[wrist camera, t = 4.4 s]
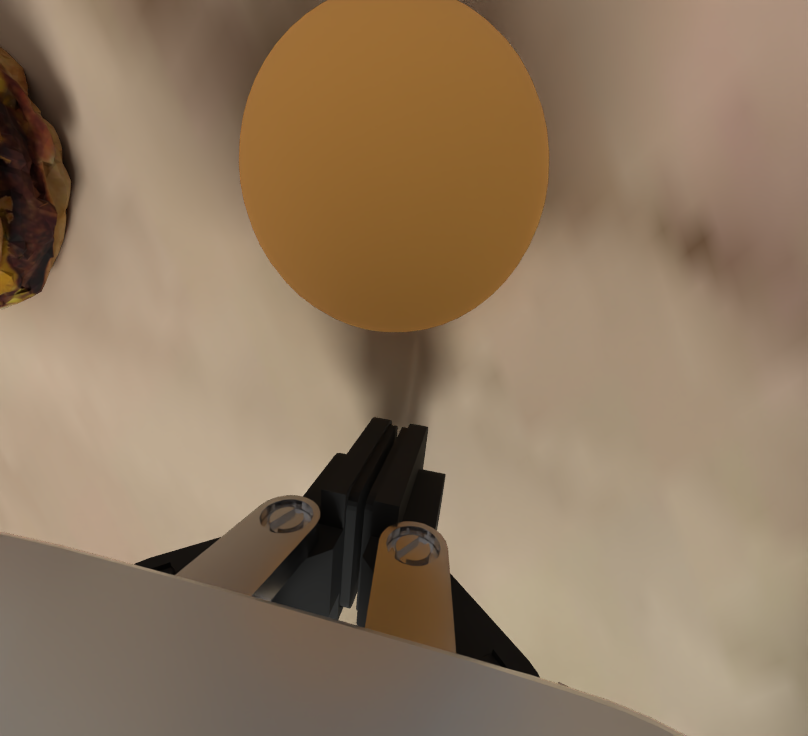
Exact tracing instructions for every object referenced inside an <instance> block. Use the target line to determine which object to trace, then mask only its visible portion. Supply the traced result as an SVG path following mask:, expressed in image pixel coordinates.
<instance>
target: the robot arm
mask: <svg viewBox="0 0 808 736" xmlns="http://www.w3.org/2000/svg"><path fill="white" fill-rule="evenodd" d="M397 430H398V427H397V426H394V425H392V421H391V420H387V419H381V418H376V417H373V418H372V420H371V421H370V423H369V424H368V425H367V427H366V428H365V430H364V431H363V432H362V434H361V435H360V436H359V438H358V439H357V441H356V442H355V443H354V445H353V446H352V448H351V449H350V450H349V452H348V453H347V454H342V453H337V454H336V455H335V456H334V457H333V458H332V460H331V461H330V462H329V464H328V465H327V466H326V467H325V469H324V470H323V471H322V473H321V474H320V475H319V476H318V478H317V479H316V480H315V482H314V483H313V484H312V485H311V487H310V488H309V489H308V491H307V492H306V493H305V494H304V496H303V497H302V496H297V495H286V496H280V497H276V498H273V499H270V500H268V501H266V502H265V503H263V504H261V505H260V506H259V507H257V508H256V509H255V510H254V511H253V512H251V513H250V514H249V515H248V516H247V517H245V518H244V519H243V520H242V521H240V522H239V523H238V524H237V525H236V526H234V527H233V528H232V529H231V530H229V531H228V532H227V533H226V534H225V535H223V536H222V537H220V538H216V539H213V540H209V541H206V542H202V543H199V544H196V545H192V546H189V547H185V548H182V549H179V550H175V551H172V552H168V553H165V554H162V555H158V556H155V557H151V558H148V559H146V560H143V561H141V562H138V563H136V564H130V563H126V562H123V561H119V560H115V559H111V558H108V557H104V556H100V555H96V554H93V553H89V552H85V551H81V550H77V549H74V548H70V547H66V546H62V545H58V544H54V543H49V542H45V541H40V540H36V539H31V538H27V537H22V536H18V535H14V534H9V533H4V532H0V736H686V735H684V734H682V733H680V732H678V731H676V730H674V729H673V728H671V727H669V726H667V725H665V724H663V723H661V722H659V721H657V720H655V719H653V718H651V717H649V716H646V715H644V714H641V713H639V712H636V711H634V710H631V709H629V708H627V707H624V706H622V705H619V704H617V703H614V702H612V701H610V700H607V699H604V698H601V697H597V696H594V695H591V694H588V693H585V692H582V691H579V690H576V689H573V688H570V687H568V686H566V685H564V684H562V683H560V682H558V684H557V683H554V682H551V681H548V680H545V679H542V678H540V677H539V675H538V673H537V671H536V670H535V669H534V667H533V666H532V664H531V663H530V662H529V660H528V659H527V658H526V657H525V656H524V655H523V654H522V653H521V651H520V650H519V649H518V648H517V647H516V646H515V645H514V644H513V643H512V641H511V640H510V639H509V638H508V637H507V636H506V635H505V634H504V633H503V631H502V630H501V629H500V628H499V627H498V626H497V625H496V624H495V623H494V621H493V620H492V619H491V618H490V617H489V616H488V615H487V614H486V613H485V611H484V610H483V609H482V608H481V607H480V606H479V605H478V604H477V603H476V601H475V600H474V599H473V598H472V597H471V596H470V595H469V594H468V593H467V591H466V590H465V589H464V588H463V587H462V586H461V585H460V584H459V583H458V581H457V580H456V579H455V578H454V577H453V576H452V575H451V574H450V568H449V555H448V547H447V544H446V541H445V539H444V538H443V536H442V535H441V534H440V533H439V532H438V531H437V526H438V520H439V514H440V508H441V502H442V495H443V489H444V482H445V474H442V473H437V472H432V471H427V470H423V464H424V457H425V449H426V442H427V434H428V427H426V426H420V425H415V424H410V425H409V427H408V428H405V427H402V428H401V430H400V432H399V434H398V436H397ZM357 591H358V593H357ZM356 594H357V605H356V610H358V612H357V625H358V626H357V625H353V624H350V623H346V622H343V621H339V620H338V619H339V616H340V614H341V612H342V609H343V607H347V608H351V606H352V604H353V602H354V599H355V596H356Z"/></svg>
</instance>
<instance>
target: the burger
mask: <svg viewBox="0 0 808 736" xmlns="http://www.w3.org/2000/svg"><path fill="white" fill-rule="evenodd" d="M27 89H28V84H27V83H26V77H25V74H24V69H23V68H22V67H21V66H20V65H19V64H18V63H17V62H16V61H15V60H14V59H13V58H12V57H11V56H10V55H9V54H8V53H7V52H6V51H5V50H4V49H2V48H1V47H0V309H4V308H7V307H9V306H12V305H14V304H18V303H20V302H22V301H24V300H26V299H28V298H31V297H33V296H34V295H36V294H38V293H39V292H41V291H42V289H43V287H44V285H45V282H46V280H47V277H48V274H49V272H50V269H51V267H52V266H53V264H54V261H55V260H56V257H57V255H58V253H59V251H60V247H61V245H62V243H63V240H64V233H65V226H66V208H67V206H68V202H69V197H70V189H71V180H70V177H69V175H68V173H67V171H66V169H65V167H64V165H63V163H62V147H61V143H60V140H59V137H58V135H57V133H56V131H55V129H54V127H53V126H52V125H51V124H50V123H49V122H48V121H46V120H45V119H43V118H42V116H41V111H40V110H39V109H38V108H37V106H36V105H35V104H34V103H33V102H32V101H31V100H30V99H29V97H28V93H27Z"/></svg>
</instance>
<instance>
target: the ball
mask: <svg viewBox="0 0 808 736" xmlns="http://www.w3.org/2000/svg"><path fill="white" fill-rule="evenodd" d="M239 170H240V183H241V188H242V193H243V198H244V203H245V206H246V209H247V213H248V216H249V219H250V222H251V225H252V228H253V230H254V232H255V235H256V237H257V239H258V241H259V244H260V246H261V247H262V249H263V251H264V252H265V254H266V256H267V257H268V259H269V261H270V262H271V264H272V265H273V266H274V267H275V269H276V270H277V271H278V273H279V274H280V275H281V276H282V278H283V279H284V280H285V281H286V283H287V284H288V285H289V286H290V287H291V288H292V289H293V290H294V291H295V292H296V293H298V294H299V295H300V296H301V297H302V298H303V299H305V300H306V301H307V302H309V303H310V304H311V305H313V306H314V307H316V308H317V309H319V310H321V311H322V312H324V313H326V314H328V315H329V316H331V317H333V318H335V319H337V320H339V321H342V322H344V323H347V324H349V325H352V326H356V327H359V328H363V329H367V330H373V331H381V332H411V331H418V330H425V329H428V328H432V327H436V326H439V325H442V324H445V323H447V322H450V321H452V320H454V319H457V318H459V317H461V316H462V315H464V314H466V313H468V312H469V311H471V310H473V309H474V308H476V307H477V306H478V305H480V304H481V303H482V302H484V301H485V300H486V299H487V298H489V297H490V296H491V295H492V294H493V293H494V292H495V291H496V290H497V289H498V288H499V287H500V286H501V285H502V284H503V283H504V282H505V281H506V280H507V278H508V277H509V276H510V275H511V273H512V272H513V271H514V269H515V268H516V267H517V265H518V264H519V262H520V260H521V259H522V257H523V255H524V254H525V252H526V250H527V249H528V247H529V245H530V243H531V240H532V238H533V236H534V233H535V231H536V229H537V227H538V224H539V221H540V217H541V214H542V211H543V207H544V204H545V198H546V192H547V186H548V174H549V146H548V135H547V127H546V123H545V118H544V114H543V109H542V106H541V103H540V100H539V98H538V95H537V92H536V90H535V87H534V84H533V82H532V80H531V77H530V75H529V74H528V72H527V70H526V68H525V66H524V64H523V63H522V61H521V59H520V57H519V56H518V54H517V53H516V52H515V50H514V49H513V48H512V46H511V45H510V44H509V42H508V41H507V40H506V38H505V37H503V36H502V35H501V34H500V33H499V32H498V31H497V30H496V29H495V28H494V27H493V26H492V25H491V24H490V23H489V22H488V21H487V20H486V19H485V18H484V17H482V16H481V15H480V14H478V13H477V12H475V11H474V10H473V9H471V8H470V7H468V6H467V5H465V4H463V3H461V2H460V1H458V0H327V1H325V2H323V3H322V4H320V5H319V6H317V7H316V8H314V9H313V10H311V11H310V12H308V13H307V14H305V15H304V16H303V17H302V18H301V19H299V20H298V21H297V22H296V23H295V24H294V25H293V26H291V27H290V28H289V30H288V31H287V32H286V33H285V34H284V35H283V36H282V37H281V39H280V40H279V41H278V42H277V43H276V45H275V46H274V47H273V49H272V50H271V52H270V53H269V55H268V56H267V58H266V59H265V61H264V63H263V65H262V66H261V68H260V70H259V72H258V74H257V76H256V78H255V80H254V83H253V86H252V88H251V91H250V93H249V96H248V99H247V103H246V107H245V111H244V114H243V120H242V127H241V134H240V145H239Z"/></svg>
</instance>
